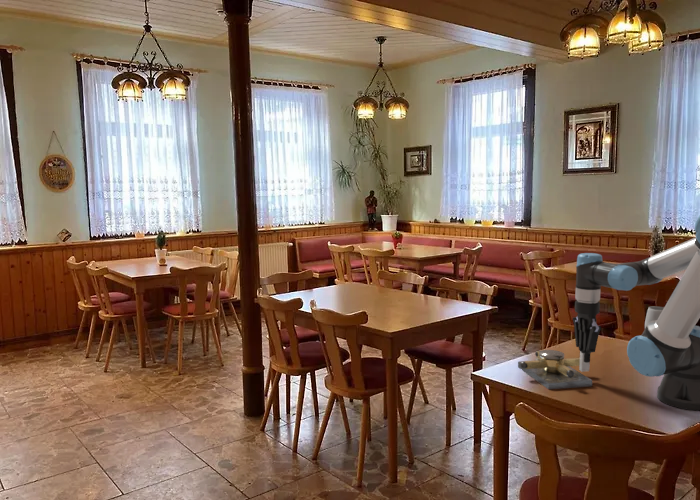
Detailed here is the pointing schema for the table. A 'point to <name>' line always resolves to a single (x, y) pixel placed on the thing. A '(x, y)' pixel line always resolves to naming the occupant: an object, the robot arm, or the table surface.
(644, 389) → the table surface
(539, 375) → the stand
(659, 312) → the wineglass
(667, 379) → the robot arm
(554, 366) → the capstan
